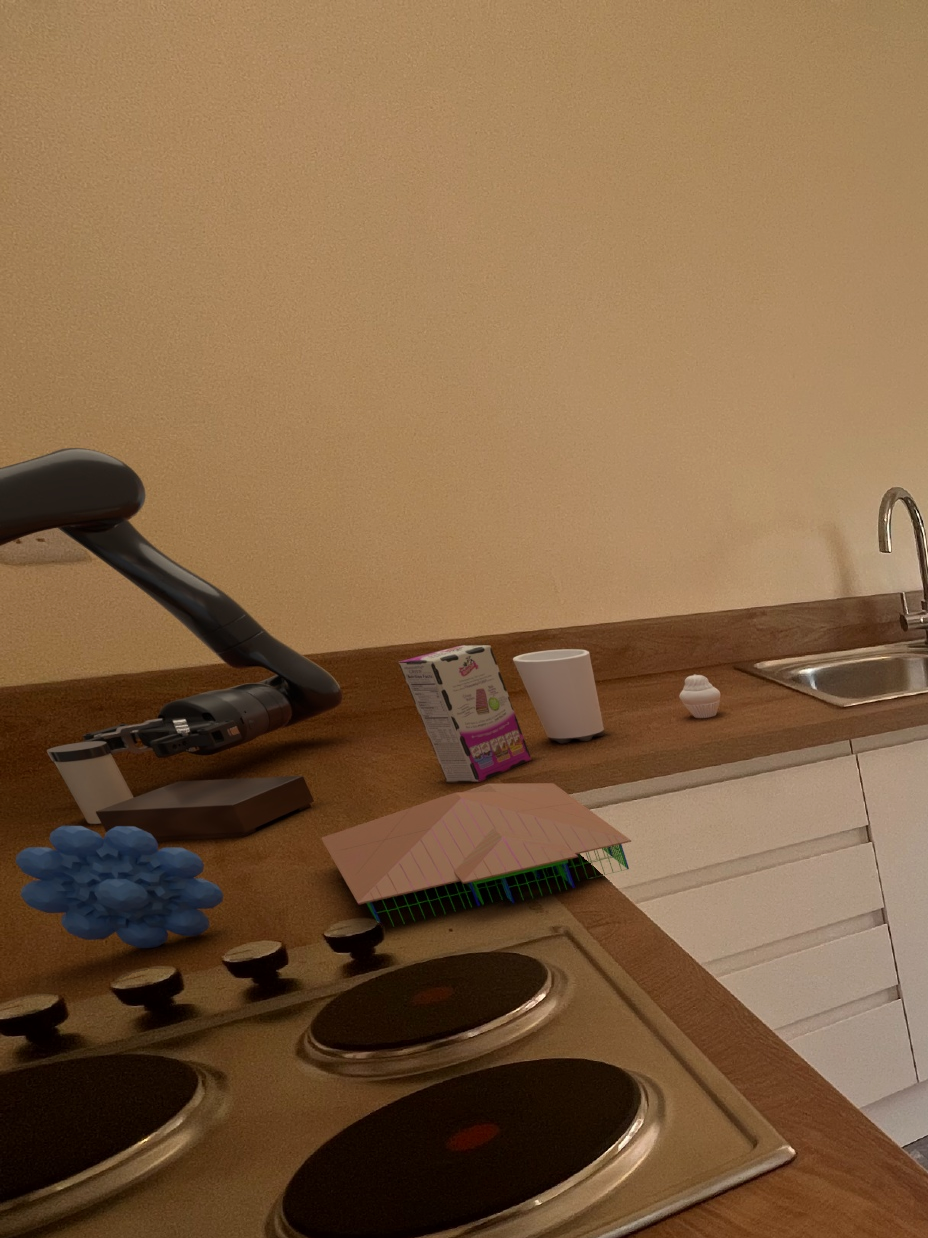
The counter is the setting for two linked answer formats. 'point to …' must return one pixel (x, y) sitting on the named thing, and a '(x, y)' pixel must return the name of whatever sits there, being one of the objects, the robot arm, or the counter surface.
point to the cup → (562, 693)
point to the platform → (209, 807)
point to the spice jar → (91, 776)
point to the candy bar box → (466, 712)
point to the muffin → (700, 696)
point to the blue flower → (118, 885)
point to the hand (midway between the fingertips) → (117, 751)
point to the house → (471, 842)
